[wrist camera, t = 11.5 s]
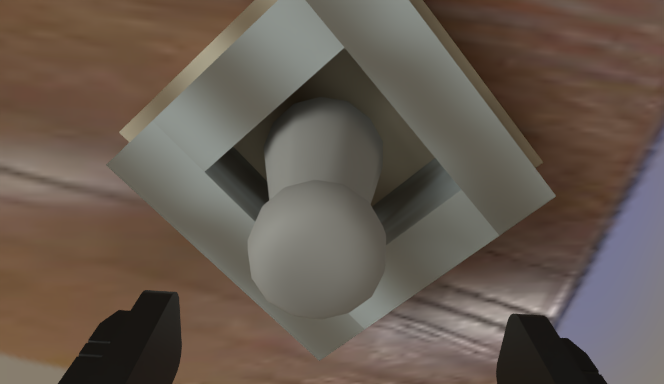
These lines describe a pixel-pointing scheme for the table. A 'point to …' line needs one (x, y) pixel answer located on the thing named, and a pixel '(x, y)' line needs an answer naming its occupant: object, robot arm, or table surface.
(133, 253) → the table surface
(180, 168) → the caddy
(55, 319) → the table surface
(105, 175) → the table surface
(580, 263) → the table surface
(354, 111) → the salt shaker
